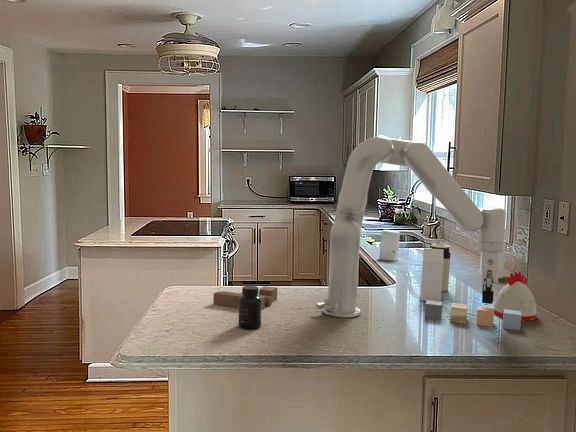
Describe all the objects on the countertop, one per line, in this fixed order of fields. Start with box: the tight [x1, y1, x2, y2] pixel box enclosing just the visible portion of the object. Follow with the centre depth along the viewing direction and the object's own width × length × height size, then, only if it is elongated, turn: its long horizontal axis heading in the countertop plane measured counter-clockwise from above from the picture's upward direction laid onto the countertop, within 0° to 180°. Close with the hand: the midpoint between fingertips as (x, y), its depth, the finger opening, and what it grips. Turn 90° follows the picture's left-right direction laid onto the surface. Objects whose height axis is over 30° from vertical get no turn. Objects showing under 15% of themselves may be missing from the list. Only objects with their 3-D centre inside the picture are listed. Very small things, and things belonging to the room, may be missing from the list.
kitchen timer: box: [492, 271, 538, 322], centre depth 197 cm, size 14×14×15 cm
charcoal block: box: [424, 300, 443, 321], centre depth 191 cm, size 5×5×5 cm
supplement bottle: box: [237, 285, 263, 331], centre depth 172 cm, size 7×7×12 cm
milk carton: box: [419, 247, 444, 302], centre depth 214 cm, size 7×7×19 cm
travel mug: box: [430, 243, 451, 293], centre depth 231 cm, size 8×8×18 cm
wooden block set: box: [212, 285, 278, 311], centre depth 200 cm, size 17×6×18 cm
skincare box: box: [379, 229, 401, 262], centre depth 294 cm, size 8×6×15 cm
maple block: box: [449, 302, 469, 325], centre depth 188 cm, size 5×5×5 cm
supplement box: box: [478, 240, 507, 279], centre depth 263 cm, size 10×9×17 cm
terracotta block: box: [475, 305, 495, 328], centre depth 186 cm, size 5×5×5 cm
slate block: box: [502, 309, 522, 331], centre depth 183 cm, size 5×5×5 cm
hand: (487, 299), depth 185 cm, fingers open, 9 cm apart
